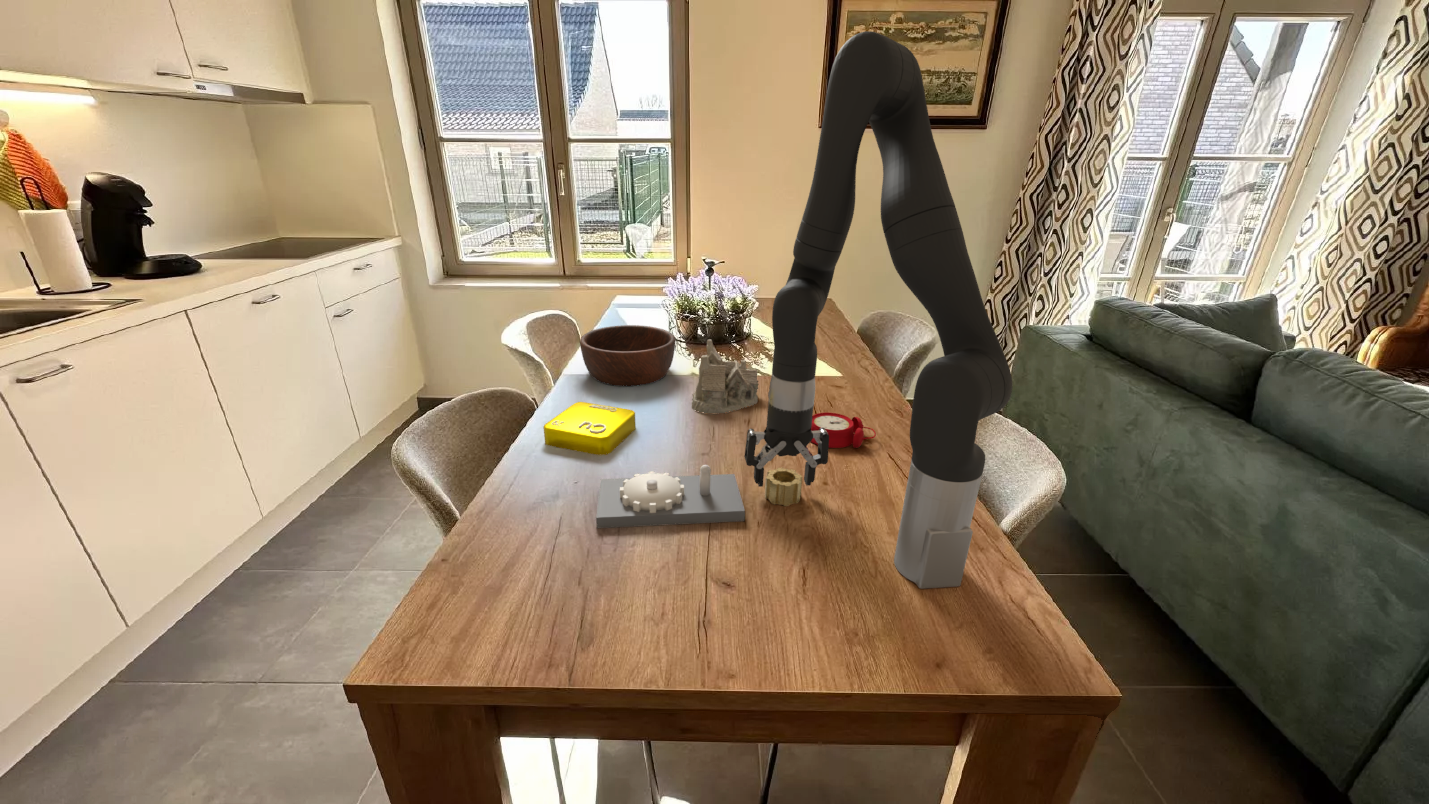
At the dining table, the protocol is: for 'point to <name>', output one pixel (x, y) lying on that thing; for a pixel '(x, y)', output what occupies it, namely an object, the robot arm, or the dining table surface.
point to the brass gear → (783, 486)
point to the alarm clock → (840, 429)
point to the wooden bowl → (628, 354)
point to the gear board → (669, 500)
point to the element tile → (590, 428)
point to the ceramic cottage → (723, 384)
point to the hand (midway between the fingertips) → (783, 483)
